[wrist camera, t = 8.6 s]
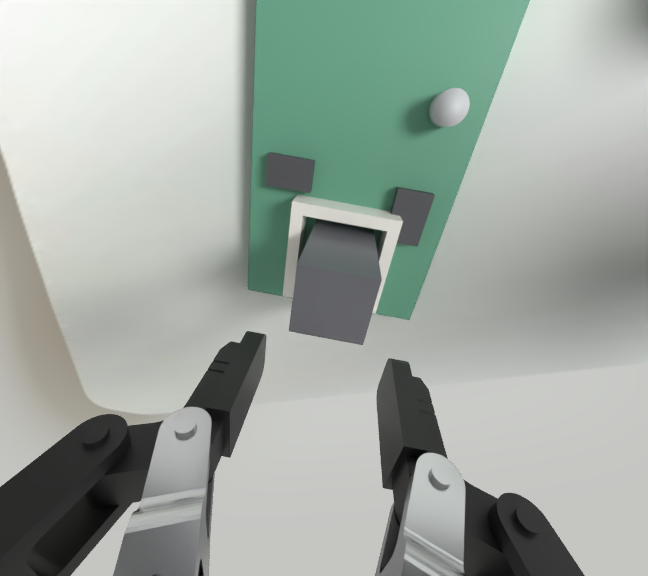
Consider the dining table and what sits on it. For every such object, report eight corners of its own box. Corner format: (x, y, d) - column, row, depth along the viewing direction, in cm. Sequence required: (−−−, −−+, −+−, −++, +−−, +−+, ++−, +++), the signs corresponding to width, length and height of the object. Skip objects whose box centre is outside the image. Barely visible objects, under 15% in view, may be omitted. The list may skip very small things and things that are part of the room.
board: (558, -100, 14) (601, -150, 11) (407, 312, 25) (412, 331, 23) (268, -150, 14) (249, -210, 11) (252, 282, 26) (241, 299, 23)
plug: (373, 229, 21) (381, 279, 14) (360, 281, 23) (362, 347, 16) (317, 219, 21) (297, 263, 14) (309, 271, 23) (288, 333, 16)
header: (398, 212, 20) (403, 223, 18) (374, 298, 24) (375, 315, 22) (298, 194, 20) (291, 202, 18) (288, 282, 24) (281, 298, 22)
